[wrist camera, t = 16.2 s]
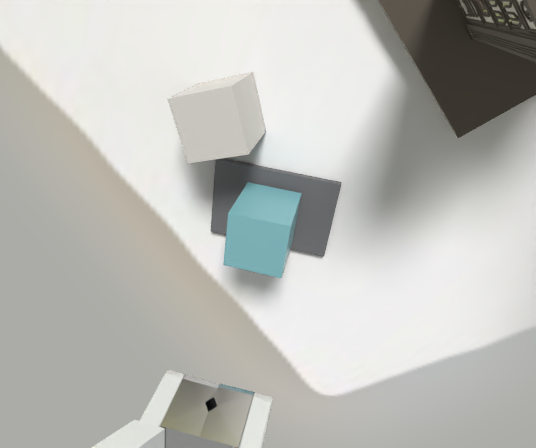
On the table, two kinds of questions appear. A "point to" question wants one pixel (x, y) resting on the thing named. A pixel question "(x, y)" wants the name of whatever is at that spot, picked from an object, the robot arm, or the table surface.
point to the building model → (470, 54)
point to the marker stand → (312, 188)
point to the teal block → (261, 229)
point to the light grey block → (218, 118)
